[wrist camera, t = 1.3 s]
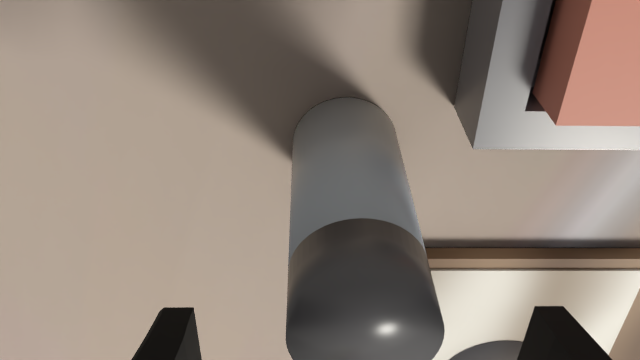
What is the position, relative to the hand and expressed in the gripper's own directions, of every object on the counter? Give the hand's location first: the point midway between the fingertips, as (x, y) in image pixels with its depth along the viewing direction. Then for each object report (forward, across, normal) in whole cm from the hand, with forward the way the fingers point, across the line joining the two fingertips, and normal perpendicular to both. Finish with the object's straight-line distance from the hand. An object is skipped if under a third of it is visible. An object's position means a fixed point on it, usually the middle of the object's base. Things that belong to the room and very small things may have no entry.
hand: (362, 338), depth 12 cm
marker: (+8, 0, 0) cm, 8 cm away
